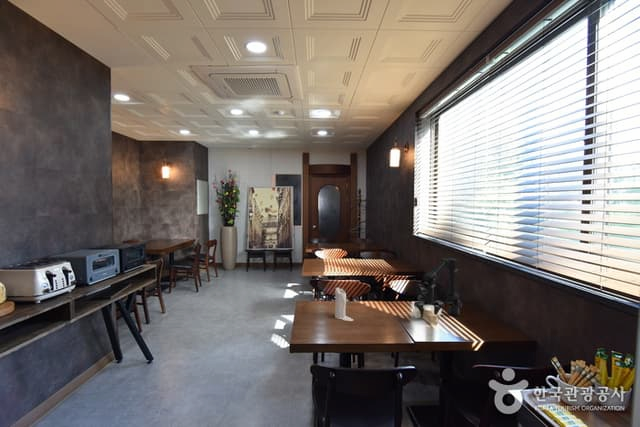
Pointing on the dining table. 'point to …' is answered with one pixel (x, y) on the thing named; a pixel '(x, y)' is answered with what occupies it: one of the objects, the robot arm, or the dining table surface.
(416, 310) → the headboard
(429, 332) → the dining table surface
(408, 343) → the dining table surface
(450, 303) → the robot arm
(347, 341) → the dining table surface
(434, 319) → the rail
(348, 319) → the white boot
